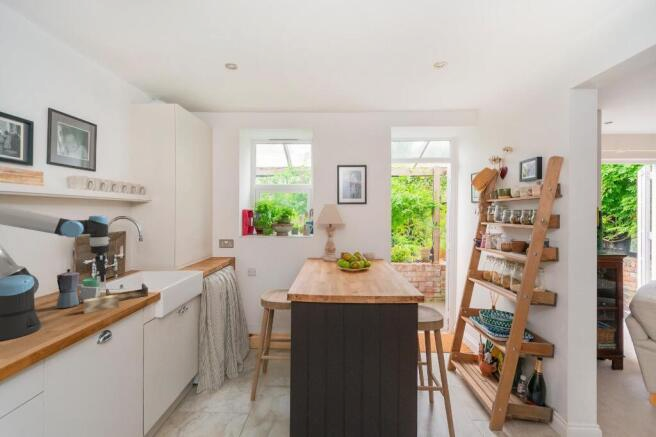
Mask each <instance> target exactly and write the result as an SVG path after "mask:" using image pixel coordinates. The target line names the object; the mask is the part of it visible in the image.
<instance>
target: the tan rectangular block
mask: <svg viewBox="0 0 656 437" xmlns="http://www.w3.org/2000/svg"><path fill="white" fill-rule="evenodd" d="M82 302H83V314H84V315H85V314H88V313H93V312H99V311H105V310H110V309H114V308H115V309H116V308H119V306H120V305H119V304H120V303H119V302H120V301H119V299H118V295H117V294H116V295H110V296H106V295H105V296H100V297H97V298H92V299H86V300H83V301H82Z"/></svg>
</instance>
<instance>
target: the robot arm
mask: <svg viewBox="0 0 656 437" xmlns="http://www.w3.org/2000/svg"><path fill="white" fill-rule="evenodd" d="M108 220H109V219H108V216H106V215H89V216H88V219H68V218H63V217H58V216H52V215H48V214H45V213H44V214H43V213H39V212H34V211H28V210H24V209H19V208H15V207H10V206H5V205H0V225H2V226H6V227H7V226H8V227H12V228H18V229H25V230H29V231H30V230H31V231H35V232H42V233H47V234H54V235H57V236H59V237H66V238H70V239H71V238H77V237H79V236H85V235H89V245H90V247H89V249H90V254H94V255H96V256H95V257H94V258H95V264H96V278H97V284H99V289H101V290H102V289H107V280H106V279H107V278H106V277H107V276H106V275H107V274H106V273H107V272H106V255H104V254H105V253H109V252H110V245H109V241H110V240H111V238H110V237H109V221H108ZM39 285H40V283H39V280H38V278H37V277H36V276H35V275H34V274H31V272H30V271H29V270H28V269H27V268H26V267H25V266H23V265H18V264H17V262H15V260H14V259H13V258H12V256H11V255H10V254H9V253H8V252H7V251H6V249H5V248H4V247H3V246H2V244H0V341H1V342H2V341H6V340H8V341H9V340H11V339H17V338H21V337H25V336H28V335H30V334H33V333H36V332H38V331H39V330H41V328H42V322H41V320H40V319H39V316H38V314H37V312H36V308H35V307H36V306H35V294H36V293H37V291H38V290H39V288H40V287H39Z"/></svg>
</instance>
